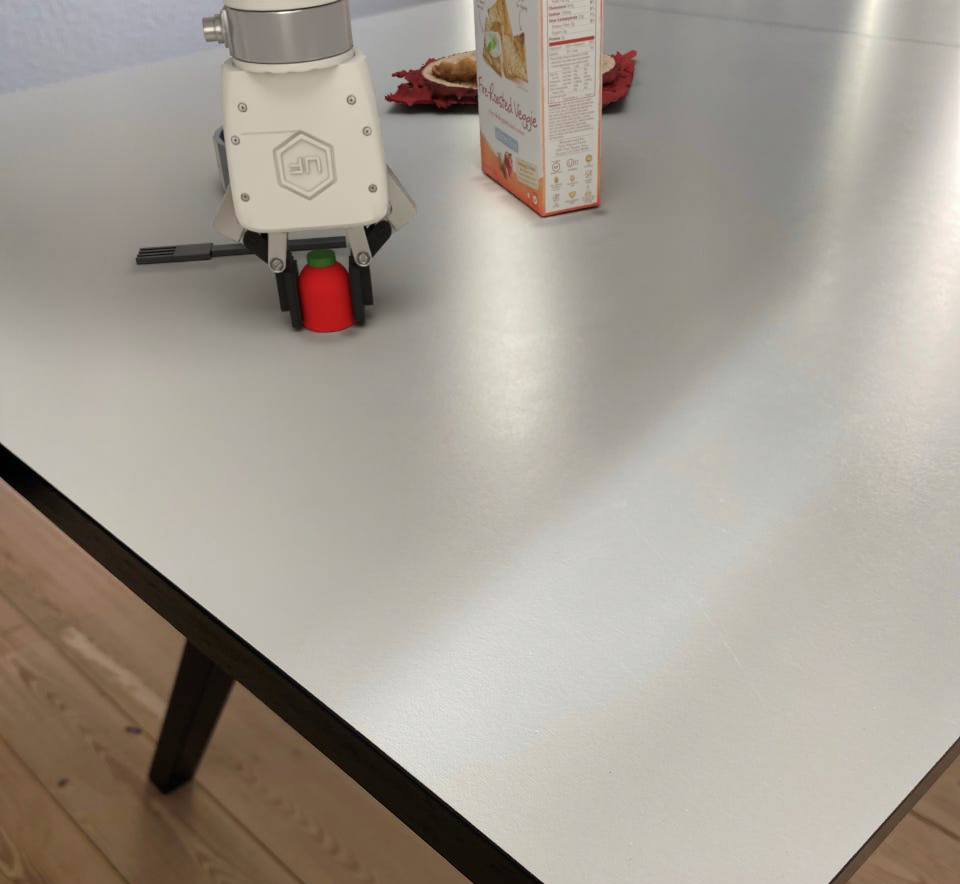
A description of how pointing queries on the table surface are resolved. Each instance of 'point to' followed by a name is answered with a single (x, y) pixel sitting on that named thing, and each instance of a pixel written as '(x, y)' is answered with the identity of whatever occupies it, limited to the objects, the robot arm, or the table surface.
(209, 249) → the fork
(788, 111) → the table surface
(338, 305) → the red rounded piece
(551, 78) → the cracker box
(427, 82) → the plate with food
